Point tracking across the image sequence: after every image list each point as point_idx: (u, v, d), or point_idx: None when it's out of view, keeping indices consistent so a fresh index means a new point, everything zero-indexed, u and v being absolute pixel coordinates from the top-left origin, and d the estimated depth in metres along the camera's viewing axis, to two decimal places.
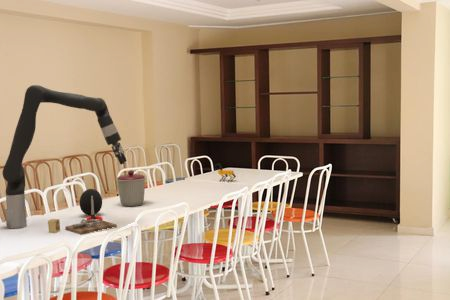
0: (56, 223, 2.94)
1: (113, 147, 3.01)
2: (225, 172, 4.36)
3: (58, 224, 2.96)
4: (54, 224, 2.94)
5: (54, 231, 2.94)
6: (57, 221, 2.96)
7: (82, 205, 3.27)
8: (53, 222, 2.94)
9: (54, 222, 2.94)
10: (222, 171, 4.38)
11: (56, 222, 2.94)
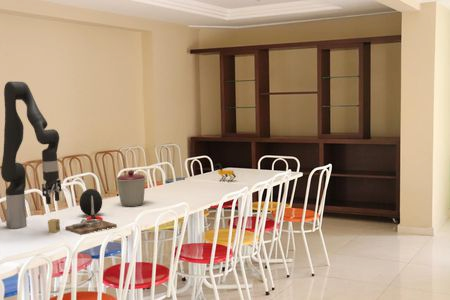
0: (56, 223, 2.94)
1: (43, 185, 2.87)
2: (225, 172, 4.36)
3: (58, 224, 2.96)
4: (54, 224, 2.94)
5: (54, 231, 2.94)
6: (57, 221, 2.96)
7: (82, 205, 3.27)
8: (53, 222, 2.94)
9: (54, 222, 2.94)
10: (222, 171, 4.38)
11: (56, 222, 2.94)
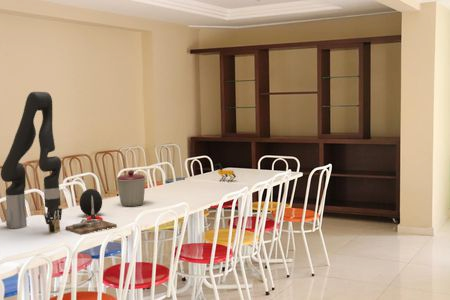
0: (56, 223, 2.94)
1: (45, 215, 2.89)
2: (225, 172, 4.36)
3: (58, 224, 2.96)
4: (54, 224, 2.94)
5: (54, 231, 2.94)
6: (57, 221, 2.96)
7: (82, 205, 3.27)
8: None
9: (54, 222, 2.94)
10: (222, 171, 4.38)
11: (56, 222, 2.94)
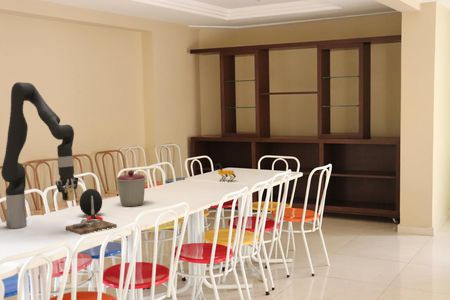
0: (69, 191, 2.94)
1: (56, 183, 2.90)
2: (225, 172, 4.36)
3: (72, 193, 2.95)
4: (67, 192, 2.93)
5: (67, 199, 2.94)
6: (71, 190, 2.95)
7: (82, 205, 3.27)
8: None
9: (67, 190, 2.93)
10: (222, 171, 4.38)
11: (69, 190, 2.94)
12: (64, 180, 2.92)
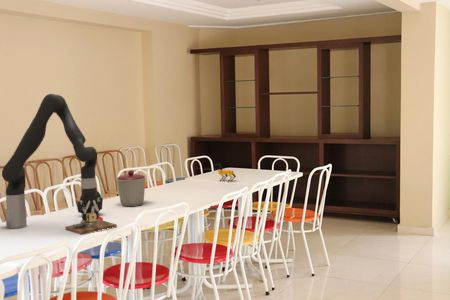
0: (90, 217, 2.98)
1: (77, 203, 2.95)
2: (225, 172, 4.36)
3: (94, 218, 3.00)
4: (88, 218, 2.98)
5: None
6: (93, 216, 2.99)
7: (82, 205, 3.27)
8: (88, 216, 2.98)
9: (88, 216, 2.98)
10: (222, 171, 4.38)
11: (91, 216, 2.98)
12: (85, 201, 2.97)
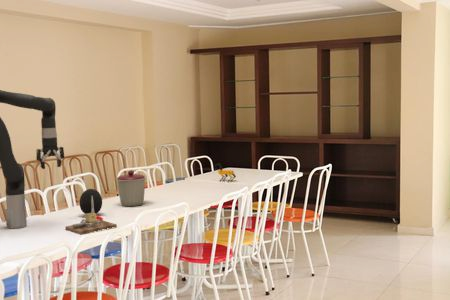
0: (90, 217, 2.98)
1: (37, 150, 3.03)
2: (225, 172, 4.36)
3: (94, 218, 3.00)
4: (88, 218, 2.98)
5: None
6: (93, 216, 2.99)
7: (82, 205, 3.27)
8: (88, 216, 2.98)
9: (88, 216, 2.98)
10: (222, 171, 4.38)
11: (91, 216, 2.98)
12: (46, 150, 3.05)
